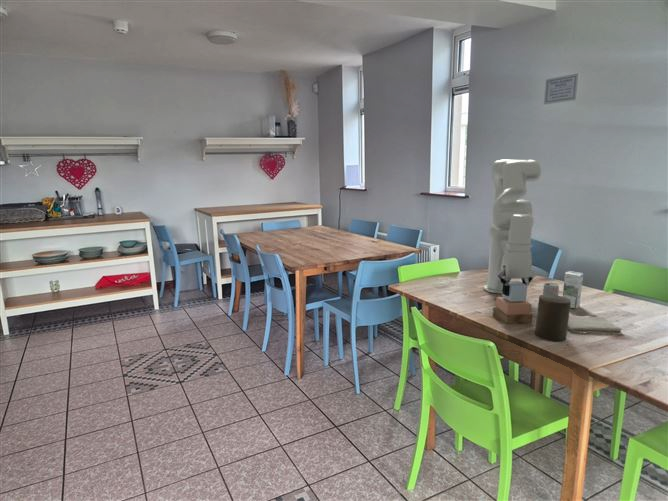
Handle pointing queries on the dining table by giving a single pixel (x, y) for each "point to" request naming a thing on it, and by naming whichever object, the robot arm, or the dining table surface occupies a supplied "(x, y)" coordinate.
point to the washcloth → (591, 325)
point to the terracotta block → (513, 306)
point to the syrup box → (573, 287)
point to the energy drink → (551, 289)
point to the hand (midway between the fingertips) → (514, 294)
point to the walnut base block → (512, 317)
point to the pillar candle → (552, 317)
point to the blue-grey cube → (516, 291)
